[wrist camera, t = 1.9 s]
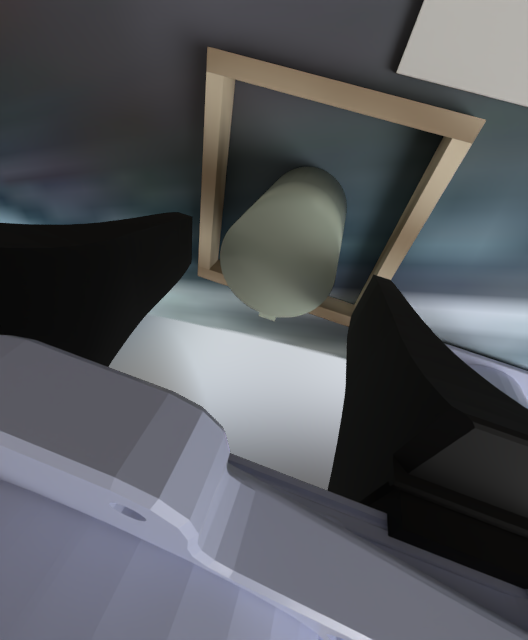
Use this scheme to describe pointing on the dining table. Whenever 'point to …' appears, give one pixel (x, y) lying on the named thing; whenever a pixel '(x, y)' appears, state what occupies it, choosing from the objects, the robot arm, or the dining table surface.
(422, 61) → the mat
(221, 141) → the holder
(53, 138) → the dining table surface
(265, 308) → the pale green capsule
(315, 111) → the dining table surface
